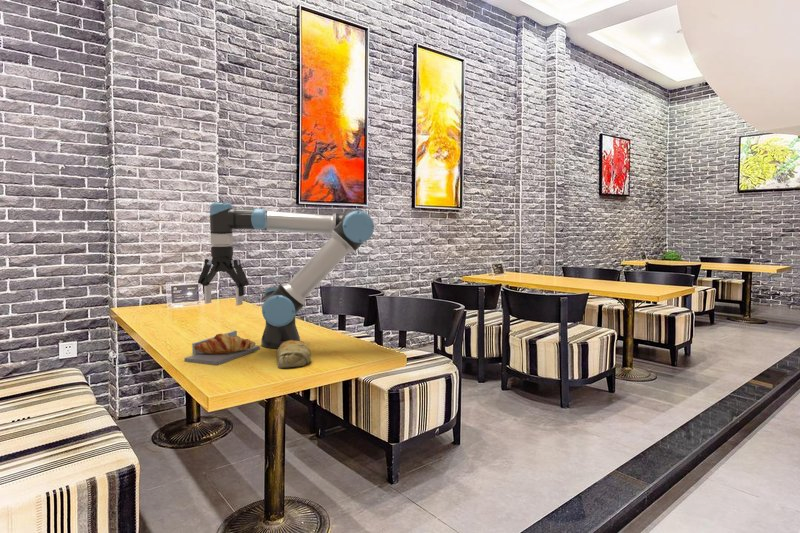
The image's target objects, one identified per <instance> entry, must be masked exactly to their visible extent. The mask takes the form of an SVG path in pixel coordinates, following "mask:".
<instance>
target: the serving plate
mask: <svg viewBox="0 0 800 533" xmlns="http://www.w3.org/2000/svg"><path fill="white" fill-rule="evenodd" d="M258 349H259V350H260V349H261V347H260V345H255V346H254V347H253V348H250V349H245V350H242V351H237V352H232V353H223V354H207V353H204V352H201V353H198V354H192V355H190V356H187V357H183V358H184V362H185V361H187V362H188V363H194V362H195V364H201V365H202V364H205V365H211V366H219V364H220V365H223V364H225V363H228V362H230V361H232V360H235V359H237V358H240V357H243V356H246V355H248V354H250V353H253V352H255V351H258Z"/></svg>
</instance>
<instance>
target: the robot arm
mask: <svg viewBox="0 0 800 533" xmlns="http://www.w3.org/2000/svg"><path fill="white" fill-rule="evenodd" d="M209 226H210V227H209V228H210V230H209V231H210V245H211V247H210V257H212V258H205V259H204V265H203V268H202V270H201V272H200V275H199V278H198V279H197V284H200V285H202V294H203V295H204V304H212V284H211V282H212V280H213V279H214V278H215V276H216V275H217V274H218V272H224V273H226V274H228V275H229V277H230V278H231V279H232V281H233V282H234V283H235V285H236V287H235V306H241V305H243V297H244V295H245V287H246V286H249V284H250V283H249V280H248V278H247V276H246V273H245V271H244V269H243V266H242V264H241V263H242V262H241V260H240V259H238V258H237V259H233V256H234V247H233V244H234V241H233V236H234V235H233V230H255V231H257V230H260V231H276V232H278V231H279V232H289V233H291V232H292V233H304V234H305V233H306V234H320V235H331V237H330V238H329V240H328V241H326V242H325V243H324V244H323V245H322V247H321V248H320V249H318V251H317V252H316V253H314V255H313V256H312V257H311V258H310V259H309V260H308V261H307V262H306V263H305V265H304V266H303V267H302V268H301V269H300V270H299V271H298V272H297V273H296V274H295V275H294V276H293V277H292V278H291V279H290V280H289V281H288V282H286V283H280V285H279V286H277V287H276V286H275V287H266V288H265V292H264V297H265V299H264V302H263V304H262V307H261V313H262V316H263V319H264V320H265V327H264V330H263V333H262V336H261V339H260V340H261V342H260V343H261V344H260V345H261V346H262V347H264V348H270V349H278V348H279V346H280V345H281V344H282V343H283V342H285V341H288V340H294V341H301V337H300V333H299V330H298V328H297V325H296V315H297V313H299V311H300V310H301V309H302V308H303V307H304V306H305V304H306V302H305V301H306V298H307V297H308V296H309V295H310V294H311V293H312V292H313V291H314V289H316V287H318V285H319V284H320V283H322V281H323V280H324V279H325V278H326V277H327V276H328V275H329V274H330V273H331V272H332V271H333V270H334V269H335V267H337V265H338V264H339V263H340V262H341V261H342V260H343V259H344V258H345V257H346V256H347V255H348V254H349V253H355V252H356V251H357V250H358V249H359V248H360V247H361V246H362V245H363V244H364V243H365V242H367V241H369V240H370V239H371V237H372V236H373V233H374V231H375V223H374V220H373V219H372V217H371V216H370V215H369V214H368V213H366V212H365V211H362V210H353V211H350V212H345V213H336V212H335V213H333V214H332V215H330V214H329V215H328V214H314V213H301V212H289V211H288V212H285V211H275V210H274V211H272V210H266V209H265V208H258V207H256V208H234V207H233V205H232V203H230V202H212V203H211V204H210V206H209Z"/></svg>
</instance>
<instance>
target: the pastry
mask: <svg viewBox="0 0 800 533" xmlns="http://www.w3.org/2000/svg"><path fill="white" fill-rule="evenodd" d="M311 360H312V356H311V350H310V349H309V347H308V345H307V344H306V343H304V341H301V340H300V341H294V340H288V341H285V342H283V343H282V344H281V345H280V346H279V348H277V351H276V361H277V369H285V368H295V367H304V366H306V365H308V364H309V363H311Z"/></svg>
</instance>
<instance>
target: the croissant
mask: <svg viewBox="0 0 800 533" xmlns="http://www.w3.org/2000/svg"><path fill="white" fill-rule="evenodd" d="M213 337H214V338H212V337H211V338H212V339H209V340H208V341H207V342H203V343H200V344H199V345H195V346H194V348H195V350H197V351H200V352H204V353H207V354H223V353H232V352H237V351H242V350H245V349H250V348H253V347H254V346H256V342H255V341H253V340H250V339H249V338H246V339H245V338H242V337H240V336H239V335H237V336H232V337H230V336H229V335H228V334H225V333H217V334H215V336H213Z"/></svg>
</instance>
